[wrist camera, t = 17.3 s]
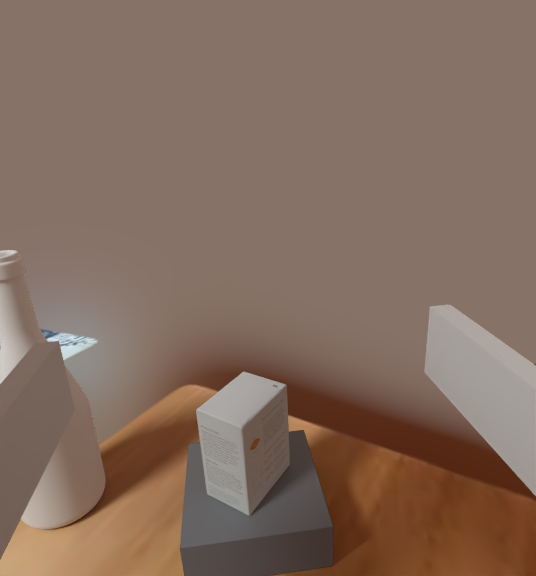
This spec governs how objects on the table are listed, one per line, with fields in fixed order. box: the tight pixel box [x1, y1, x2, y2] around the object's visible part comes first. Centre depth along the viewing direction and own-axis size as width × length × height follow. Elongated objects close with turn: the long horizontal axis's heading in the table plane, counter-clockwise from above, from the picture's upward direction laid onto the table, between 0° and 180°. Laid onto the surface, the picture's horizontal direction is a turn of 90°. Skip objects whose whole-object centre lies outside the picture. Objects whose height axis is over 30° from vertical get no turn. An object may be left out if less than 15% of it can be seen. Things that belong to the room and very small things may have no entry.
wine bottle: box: [0, 250, 106, 529], centre depth 46 cm, size 10×10×30 cm
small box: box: [196, 372, 290, 516], centre depth 44 cm, size 8×6×10 cm
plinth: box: [180, 430, 333, 576], centre depth 46 cm, size 14×14×5 cm
